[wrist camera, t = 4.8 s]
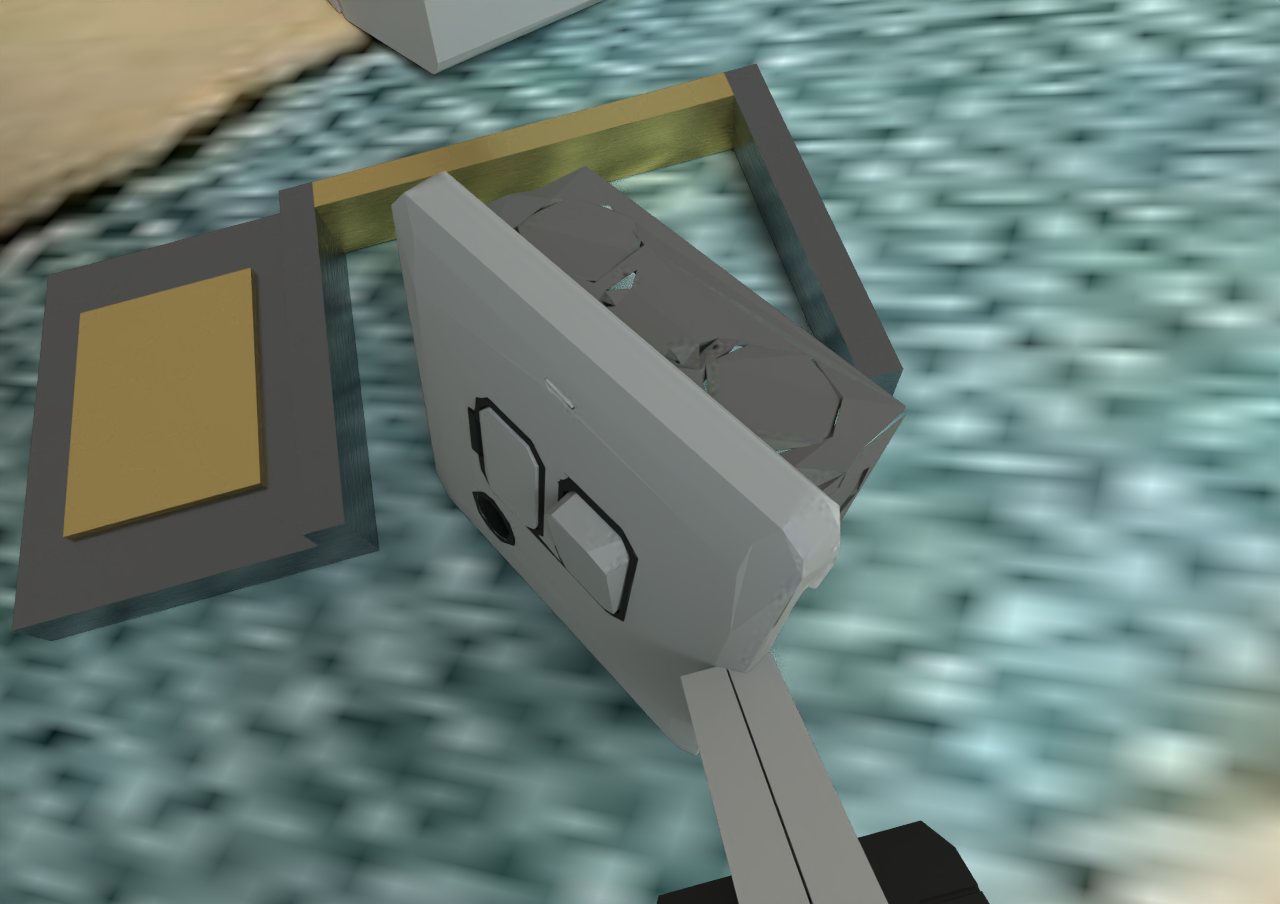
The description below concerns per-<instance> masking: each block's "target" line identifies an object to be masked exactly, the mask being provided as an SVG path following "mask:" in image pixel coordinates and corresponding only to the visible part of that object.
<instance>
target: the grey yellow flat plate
mask: <svg viewBox="0 0 1280 904" xmlns="http://www.w3.org/2000/svg"><path fill="white" fill-rule="evenodd" d="M729 149H734V151H735V154H736V156H737V158H738V160H739V163H740V165H741V167H742V170H743V172H744V174H745V177H746V179H747V181H748V184H749V186H750V188H751V191H752V193H753V195H754V198H755V200H756V202H757V205H758V207H759V209H760V212H761V214H762V216H763V219H764V221H765V223H766V225H767V228H768V230H769V232H770V235H771V237H772V239H773V242H774V244H775V246H776V249H777V251H778V253H779V256H780V258H781V260H782V263H783V265H784V267H785V270H786V272H787V274H788V277H789V279H790V281H791V284H792V286H793V288H794V291H795V293H796V295H797V297H798V300H799V302H800V304H801V307H802V309H803V311H804V314H805V316H806V318H807V321H808V323H809V325H810V328H811V330H812V332H813V335H814V337H815V338H816V339H817V340H818V341H820V342H821V343H822V344H824V345H825V346H826V347H828V348H829V349H830V350H832V351H833V352H834V353H836V354H837V355H838V356H840V357H841V358H842V359H844V360H845V361H846V362H848V363H849V364H850V365H851V366H853V367H854V368H855V369H857V370H858V371H859V372H861V373H862V374H863V375H865V376H866V377H867V378H869V379H870V380H871V381H873V382H874V383H875V384H877V385H878V386H879V387H881V388H882V389H883V390H885V391H886V392H887V393H889V394H890V395H891V396H893V394H894V391H895V388H896V386H897V383H898V381H899V378H900V376H901V373H902V371H903V368H902V366H901V363H900V361H899V359H898V357H897V355H896V353H895V351H894V349H893V347H892V345H891V343H890V341H889V339H888V336H887V334H886V332H885V330H884V328H883V326H882V324H881V322H880V320H879V318H878V316H877V314H876V311H875V309H874V307H873V305H872V303H871V301H870V299H869V297H868V295H867V293H866V291H865V289H864V287H863V284H862V282H861V280H860V278H859V276H858V274H857V272H856V270H855V268H854V266H853V264H852V262H851V260H850V257H849V255H848V253H847V251H846V249H845V247H844V245H843V243H842V241H841V239H840V237H839V235H838V232H837V230H836V228H835V226H834V224H833V222H832V220H831V218H830V216H829V214H828V212H827V210H826V208H825V205H824V203H823V201H822V199H821V197H820V195H819V193H818V191H817V189H816V187H815V185H814V183H813V181H812V178H811V176H810V174H809V172H808V170H807V168H806V166H805V164H804V162H803V160H802V158H801V156H800V154H799V151H798V149H797V147H796V145H795V143H794V141H793V139H792V137H791V135H790V133H789V131H788V129H787V126H786V124H785V122H784V120H783V118H782V116H781V114H780V112H779V110H778V108H777V106H776V104H775V102H774V99H773V97H772V95H771V93H770V91H769V89H768V87H767V85H766V83H765V81H764V79H763V77H762V75H761V72H760V70H759V68H758V66H757V64H754V65H750V66H746V67H743V68H739V69H735V70H731V71H728V72H724V73H720V74H716V75H713V76H709V77H705V78H701V79H698V80H694V81H690V82H686V83H683V84H679V85H675V86H671V87H668V88H664V89H660V90H656V91H653V92H649V93H645V94H641V95H637V96H634V97H630V98H626V99H622V100H619V101H615V102H611V103H607V104H604V105H600V106H596V107H592V108H589V109H585V110H581V111H577V112H574V113H570V114H566V115H562V116H559V117H555V118H551V119H547V120H544V121H540V122H536V123H532V124H529V125H525V126H521V127H517V128H514V129H510V130H506V131H502V132H499V133H495V134H491V135H487V136H484V137H480V138H476V139H472V140H468V141H465V142H461V143H457V144H453V145H450V146H446V147H442V148H438V149H435V150H431V151H427V152H423V153H420V154H416V155H412V156H408V157H405V158H401V159H397V160H393V161H390V162H386V163H382V164H378V165H375V166H371V167H367V168H363V169H360V170H356V171H352V172H348V173H345V174H341V175H337V176H333V177H330V178H326V179H322V180H318V181H315V182H311V183H307V184H303V185H299V186H296V187H292V188H288V189H284V190H281V191H279V200H280V214H276V215H273V216H269V217H265V218H261V219H258V220H254V221H250V222H246V223H243V224H239V225H235V226H231V227H228V228H224V229H220V230H217V231H213V232H209V233H205V234H202V235H198V236H194V237H190V238H187V239H183V240H179V241H175V242H172V243H168V244H164V245H160V246H157V247H153V248H149V249H145V250H142V251H138V252H134V253H130V254H127V255H123V256H119V257H115V258H112V259H108V260H104V261H100V262H97V263H93V264H89V265H85V266H82V267H78V268H74V269H70V270H67V271H63V272H59V273H55V274H52V275H48V283H47V293H46V303H45V312H44V322H43V332H42V342H41V352H40V362H39V371H38V381H37V391H36V401H35V411H34V421H33V430H32V440H31V450H30V460H29V470H28V480H27V489H26V499H25V509H24V519H23V529H22V539H21V548H20V558H19V568H18V578H17V588H16V598H15V607H14V617H13V627H12V631H15V632H19V633H23V634H27V635H30V636H34V637H38V638H42V639H45V640H49V641H53V640H57V639H60V638H64V637H67V636H71V635H75V634H78V633H82V632H85V631H89V630H93V629H96V628H100V627H104V626H107V625H111V624H114V623H118V622H122V621H125V620H129V619H132V618H136V617H140V616H143V615H147V614H150V613H154V612H158V611H161V610H165V609H168V608H172V607H176V606H179V605H183V604H187V603H190V602H194V601H197V600H201V599H205V598H208V597H212V596H215V595H219V594H223V593H226V592H230V591H233V590H237V589H241V588H244V587H248V586H251V585H255V584H259V583H262V582H266V581H269V580H273V579H277V578H280V577H284V576H288V575H291V574H295V573H298V572H302V571H306V570H309V569H313V568H316V567H320V566H324V565H327V564H331V563H334V562H338V561H342V560H345V559H349V558H352V557H356V556H360V555H363V554H367V553H371V552H374V551H378V550H379V547H378V538H377V529H376V520H375V511H374V503H373V494H372V485H371V476H370V467H369V459H368V450H367V441H366V432H365V424H364V415H363V406H362V397H361V388H360V380H359V371H358V362H357V353H356V344H355V336H354V327H353V318H352V309H351V300H350V292H349V283H348V274H347V265H346V257H345V253H346V252H349V251H353V250H357V249H361V248H364V247H368V246H372V245H376V244H379V243H383V242H387V241H390V240H394V239H397V238H396V232H395V226H394V220H393V214H392V208H391V205H392V204H393V203H394V202H395V201H396V200H397V199H398V198H399V197H400V196H401V195H402V194H403V193H404V192H406V191H408V190H409V189H411V188H413V187H414V186H416V185H418V184H420V183H421V182H423V181H425V180H426V179H428V178H430V177H432V176H433V175H435V174H438V173H441V172H443V171H446V172H447V173H448V174H449V175H451V176H452V177H453V178H454V179H455V180H456V181H458V182H459V183H460V184H461V185H462V186H464V187H465V188H466V189H467V190H468V191H469V192H471V193H472V194H473V195H474V196H475V197H476V198H478V199H479V200H480V201H481V202H482V203H484V204H485V205H486V204H488V203H490V202H493V201H495V200H497V199H499V198H501V197H503V196H506V195H508V194H513V193H520V192H526V191H533V190H536V189H538V188H540V187H542V186H545V185H547V184H549V183H551V182H553V181H555V180H557V179H559V178H561V177H563V176H565V175H567V174H569V173H571V172H574V171H576V170H578V169H580V168H582V167H584V166H587V167H588V168H590V169H591V170H592V171H594V172H595V173H596V174H598V175H599V176H600V177H602V178H603V179H604V180H606V181H607V182H610V181H614V180H618V179H621V178H625V177H629V176H632V175H636V174H640V173H644V172H647V171H651V170H655V169H659V168H662V167H666V166H670V165H673V164H677V163H681V162H685V161H688V160H692V159H696V158H700V157H703V156H707V155H711V154H714V153H718V152H722V151H726V150H729Z"/></svg>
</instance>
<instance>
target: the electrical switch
mask: <svg viewBox="0 0 1280 904" xmlns="http://www.w3.org/2000/svg"><path fill="white" fill-rule="evenodd" d="M607 205H609V206H610V207H611V208H612V209H613V210H614V211H613V210H611V209H608V208H605V207H602V206H607ZM391 208H392V214H393V220H394V226H395V232H396V238H397V244H398V250H399V256H400V262H401V268H402V274H403V280H404V286H405V292H406V298H407V304H408V310H409V316H410V321H411V327H412V332H413V338H414V344H415V349H416V355H417V361H418V367H419V372H420V378H421V384H422V390H423V396H424V402H425V408H426V414H427V419H428V425H429V431H430V437H431V443H432V449H433V455H434V461H435V466H436V472H437V475H438V477H439V479H440V481H441V482H442V484H443V486H444V488H445V490H446V492H447V494H448V496H449V497H450V498H451V500H452V501H453V502H454V503H455V504H456V505H457V506H458V508H459V509H460V510H461V511H462V512H463V513H464V514H465V515H466V516H467V517H468V519H469V520H470V521H471V522H472V523H473V524H474V525H475V526H476V527H477V528H478V529H479V531H480V532H481V533H482V534H483V535H484V536H485V537H486V538H487V539H488V540H489V542H490V543H491V544H492V545H493V546H494V547H495V548H496V549H497V550H498V551H499V552H500V554H501V555H502V556H503V557H504V558H505V559H506V560H507V561H508V562H509V563H510V565H511V566H512V567H513V568H514V569H515V570H516V571H517V572H518V573H519V574H520V576H521V577H522V578H523V579H524V580H525V581H526V582H527V583H528V584H529V585H530V586H531V588H532V589H533V590H534V591H535V592H536V593H537V594H538V595H539V596H540V597H541V599H542V600H543V601H544V602H545V603H546V604H547V605H548V606H549V607H550V608H551V610H552V611H553V612H554V613H555V614H556V615H557V616H558V617H559V618H560V619H561V620H562V622H563V623H564V624H565V625H566V626H567V627H568V628H569V629H570V630H571V631H572V633H573V634H574V635H575V636H576V637H577V638H578V639H579V640H580V641H581V642H582V644H583V645H584V646H585V647H586V648H587V649H588V650H589V651H590V652H591V653H592V654H593V656H594V657H595V658H596V659H597V660H598V661H599V662H600V663H601V664H602V665H603V667H604V668H605V669H606V670H607V671H608V672H609V673H610V674H611V675H612V676H613V677H614V679H615V680H616V681H617V682H618V683H619V684H620V685H621V686H622V687H623V688H624V690H625V691H626V692H627V693H628V694H629V695H630V696H631V697H632V698H633V699H634V701H635V702H636V703H637V704H638V705H639V706H640V707H641V708H642V709H643V710H644V711H645V713H646V714H647V715H648V716H649V717H650V718H651V719H652V720H653V721H654V722H655V724H656V725H657V726H658V727H659V728H660V729H661V730H662V731H663V732H664V733H665V734H666V735H667V736H668V737H669V738H670V739H671V740H672V741H673V742H674V743H675V744H676V745H677V746H678V747H679V748H680V749H682V750H684V751H686V752H689V753H691V754H693V755H695V756H696V755H697V754H698V753H699V752H700V751H699V747H698V743H697V739H696V735H695V731H694V728H693V724H692V720H691V716H690V712H689V708H688V704H687V700H686V696H685V693H684V689H683V685H682V681H681V677H680V676H684V675H688V674H691V673H695V672H699V671H702V670H706V669H710V668H713V667H717V666H718V667H721V668H725V669H726V670H727V673H728V676H729V679H730V675H729V670H728V669H730V670H734V671H738V672H743V673H745V672H748V671H750V670H751V669H752V668H754V667H755V666H756V665H757V664H758V663H759V662H760V661H761V660H762V659H763V658H764V656H765V655H766V654H767V653H768V652H769V650H770V648H771V646H772V645H773V643H774V641H775V639H776V637H777V636H778V634H779V632H780V630H781V628H782V626H783V625H784V623H785V621H786V619H787V617H788V615H789V614H790V612H791V610H792V608H793V606H794V605H795V603H796V602H797V600H798V599H799V597H800V596H801V594H802V592H803V591H804V590H805V589H806V588H807V587H810V588H814V589H817V587H818V586H819V584H820V583H821V582H822V580H823V579H824V578H825V576H826V575H827V574H828V572H829V571H830V570H831V568H832V567H833V565H834V564H835V561H836V558H837V555H838V552H839V549H840V522H841V520H842V518H843V517H844V515H845V513H846V512H847V510H848V509H849V507H850V505H851V504H852V502H853V500H854V499H855V497H856V495H857V494H858V492H859V491H860V489H861V487H862V486H863V484H864V482H865V481H866V479H867V477H868V476H869V474H870V473H871V471H872V469H873V468H874V466H875V464H876V463H877V461H878V459H879V458H880V456H881V454H882V453H883V451H884V450H885V448H886V446H887V445H888V443H889V441H890V440H891V438H892V436H893V435H894V433H895V432H896V430H897V428H898V427H899V425H900V423H901V422H902V420H903V418H904V417H905V415H904V416H903V417H902V418H901V419H899V420H898V421H897V422H896V423H894V424H893V425H892V426H891V427H889V428H888V429H887V430H885V431H884V432H883V433H882V434H880V435H879V436H878V437H877V438H875V437H876V436H877V435H878V434H879V433H880V432H881V431H882V430H883V429H884V428H886V427H887V426H888V425H889V424H890V423H891V422H892V421H893V420H894V419H895V418H897V417H898V416H899V415H900V414H901V413H902V412H903V411H904V409H905V407H906V406H905V405H903V404H902V403H901V402H899V401H898V400H897V399H895V398H894V397H893V396H891V395H890V394H889V393H887V392H886V391H885V390H883V389H882V388H881V387H879V386H878V385H877V384H875V383H874V382H873V381H871V380H870V379H869V378H867V377H866V376H865V375H863V374H862V373H861V372H859V371H858V370H857V369H855V368H854V367H853V366H851V365H850V364H849V363H848V362H846V361H845V360H844V359H842V358H841V357H840V356H838V355H837V354H836V353H834V352H833V351H832V350H830V349H829V348H828V347H826V346H825V345H824V344H822V343H821V342H820V341H818V340H817V339H816V338H814V337H813V336H812V335H810V334H809V333H808V332H806V331H805V330H804V329H802V328H801V327H800V326H798V325H797V324H796V323H794V322H793V321H792V320H790V319H789V318H788V317H786V316H785V315H784V314H782V313H781V312H780V311H778V310H777V309H776V308H774V307H773V306H772V305H770V304H769V303H768V302H766V301H765V300H764V299H762V298H761V297H760V296H758V295H757V294H756V293H754V292H753V291H752V290H750V289H749V288H748V287H746V286H745V285H744V284H742V283H741V282H740V281H738V280H737V279H736V278H734V277H733V276H732V275H731V274H729V273H728V272H727V271H725V270H724V269H723V268H721V267H720V266H719V265H717V264H716V263H715V262H713V261H712V260H711V259H709V258H708V257H707V256H705V255H704V254H703V253H701V252H700V251H699V250H697V249H696V248H695V247H693V246H692V245H691V244H689V243H688V242H687V241H685V240H684V239H683V238H681V237H680V236H679V235H677V234H676V233H675V232H673V231H672V230H671V229H669V228H668V227H667V226H665V225H664V224H663V223H661V222H660V221H659V220H657V219H656V218H655V217H653V216H652V215H651V214H649V213H648V212H647V211H645V210H644V209H643V208H641V207H640V206H639V205H637V204H636V203H635V202H633V201H632V200H631V199H629V198H628V197H627V196H625V195H624V194H623V193H621V192H620V191H619V190H617V189H616V188H615V187H613V186H612V185H611V184H610V183H608V182H607V181H606V180H604V179H603V178H602V177H600V176H599V175H598V174H596V173H595V172H594V171H592V170H591V169H590V168H588V167H587V166H584V167H582V168H580V169H578V170H576V171H574V172H571V173H569V174H567V175H565V176H563V177H561V178H559V179H557V180H555V181H553V182H551V183H549V184H547V185H545V186H542V187H540V188H538V189H536V190H533V191H526V192H520V193H513V194H508V195H506V196H503V197H501V198H499V199H497V200H495V201H493V202H490V203H488V204H486V205H485V204H484V203H482V202H481V201H480V200H479V199H478V198H476V197H475V196H474V195H473V194H472V193H471V192H469V191H468V190H467V189H466V188H465V187H464V186H462V185H461V184H460V183H459V182H458V181H456V180H455V179H454V178H453V177H452V176H451V175H449V174H448V173H447V172H446V171H443V172H441V173H438V174H435V175H433V176H432V177H430V178H428V179H426V180H425V181H423V182H421V183H420V184H418V185H416V186H414V187H413V188H411V189H409V190H408V191H406V192H404V193H403V194H402V195H401V196H400V197H399V198H398V199H397V200H396V201H395V202H394V203H393V204H392V205H391ZM638 238H639V239H640V240H641V244H640V245H639V240H638ZM633 272H634V273H635V274H636V275H635V279H634V282H633V286H632V289H621V290H608V289H609V288H610V287H612V286H613V285H615V284H616V283H618V282H619V281H621V280H622V279H624V278H625V277H627V276H628V275H630V274H631V273H633ZM735 345H738V346H743V347H742V348H740V349H738V350H735V351H733V352H731V353H729V352H730V351H731V350H732V349H733V347H734V346H735ZM668 357H669V358H668ZM670 358H672V359H674V360H676V361H674V360H672V359H670ZM811 359H814V360H815V362H816V364H817V365H818V367H819V368H818V367H817V366H816V365H815V364H814V363H813V361H812V360H811ZM679 363H681V364H682V365H681V364H679ZM819 369H820V370H819ZM706 379H707V387H708V394H707V393H706V392H705V391H704V388H703V382H704V381H705V380H706ZM839 407H840V411H839V415H838V419H837V423H836V424H835V420H836V417H837V413H838V409H839ZM834 424H835V426H834ZM873 438H875V439H874V440H873V441H872V442H870V441H871V440H872V439H873ZM869 442H870V443H869ZM868 443H869V444H868ZM867 444H868V445H867ZM862 448H863V449H862ZM787 449H792V450H788V451H785V452H782V453H779V454H778V453H777V452H776V451H778V450H787ZM730 682H731V680H730Z"/></svg>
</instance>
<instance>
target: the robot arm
mask: <svg viewBox="0 0 1280 904" xmlns="http://www.w3.org/2000/svg"><path fill="white" fill-rule="evenodd" d="M728 670H729V675H730V679H729V676H728V673H727V670H726V669H725V668H721V667H718V666H717V667H713V668H710V669H706V670H702V671H699V672H695V673H691V674H688V675H684V676H680V677H681V681H682V685H683V689H684V693H685V696H686V700H687V704H688V708H689V712H690V716H691V720H692V724H693V728H694V731H695V735H696V739H697V743H698V747H699V751H700V755H701V759H702V762H703V766H704V770H705V774H706V778H707V782H708V786H709V790H710V794H711V797H712V801H713V805H714V809H715V813H716V817H717V821H718V825H719V829H720V832H721V836H722V840H723V844H724V848H725V852H726V856H727V860H728V863H729V867H730V871H731V876H728V877H724V878H721V879H717V880H713V881H710V882H706V883H703V884H699V885H695V886H692V887H688V888H685V889H681V890H677V891H674V892H670V893H667V894H663V895H659V897H658V901H657V904H989V902H988V900H987V899H986V897H985V896H984V894H983V892H982V891H980V890H979V888H978V884H977V882H976V881H975V879H974V878H973V876H972V874H971V873H970V871H969V869H968V868H967V866H966V864H965V863H964V861H963V860H962V858H961V856H960V855H959V853H958V851H957V850H956V848H955V847H954V846H953V845H951V844H950V843H949V842H948V841H946V840H945V839H944V838H943V837H941V836H940V835H939V834H938V833H936V832H935V831H934V830H932V829H931V828H930V827H929V826H927V825H926V824H925V823H924V822H922V821H917V822H913V823H910V824H906V825H903V826H899V827H895V828H892V829H888V830H885V831H881V832H877V833H874V834H870V835H867V836H863V837H859V838H857V836H856V834H855V832H854V830H853V827H852V825H851V823H850V821H849V819H848V817H847V815H846V812H845V810H844V808H843V806H842V804H841V802H840V800H839V797H838V795H837V793H836V791H835V789H834V787H833V785H832V782H831V780H830V778H829V776H828V774H827V772H826V770H825V768H824V765H823V763H822V761H821V759H820V757H819V755H818V753H817V750H816V748H815V746H814V744H813V742H812V740H811V738H810V735H809V733H808V731H807V729H806V727H805V725H804V723H803V721H802V718H801V716H800V714H799V712H798V710H797V708H796V706H795V703H794V701H793V699H792V697H791V695H790V693H789V691H788V688H787V686H786V684H785V682H784V680H783V678H782V676H781V674H780V671H779V669H778V667H777V665H776V663H775V661H774V659H773V656H772V654H771V652H768V653H767V654H766V655H765V656H764V658H763V659H762V660H761V661H760V662H759V663H758V664H757V665H756V666H755V667H754V668H752V669H751V670H750V671H748V672H745V673H743V672H738V671H734V670H730V669H728ZM730 680H731V682H730Z"/></svg>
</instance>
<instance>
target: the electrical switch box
mask: <svg viewBox="0 0 1280 904" xmlns="http://www.w3.org/2000/svg"><path fill="white" fill-rule="evenodd" d="M328 1H329V2H330V3H331V4H332V5H333V7H334V8H335V9H336V10H337V11H338V12H339V13H341V12H343V13H344V17H345V19H346V20H348V21H350V22H351V23H353V24H354V25H356V26H357V27H359V28H361V29H362V30H364V31H365V32H367V33H369V34H370V35H372V36H373V37H375V38H376V39H378V40H380V41H381V42H383V43H384V44H386V45H388V46H389V47H391V48H392V49H394V50H396V51H397V52H399V53H400V54H402V55H403V56H405V57H407V58H408V59H410V60H411V61H413V62H415V63H416V64H418V65H419V66H421V67H422V68H424V69H426V70H427V71H429V72H430V73H432V74H436V73H438V72H441V71H443V70H445V69H447V68H450V67H452V66H454V65H457V64H459V63H461V62H463V61H466V60H468V59H470V58H473V57H475V56H477V55H479V54H482V53H484V52H486V51H489V50H491V49H493V48H495V47H498V46H500V45H502V44H504V43H507V42H509V41H511V40H514V39H516V38H518V37H520V36H523V35H525V34H527V33H530V32H532V31H534V30H536V29H539V28H541V27H543V26H546V25H548V24H550V23H552V22H555V21H557V20H559V19H562V18H564V17H566V16H568V15H571V14H573V13H575V12H577V11H580V10H582V9H584V8H587V7H589V6H591V5H593V4H596V3H598V2H600V1H603V0H328Z"/></svg>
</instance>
